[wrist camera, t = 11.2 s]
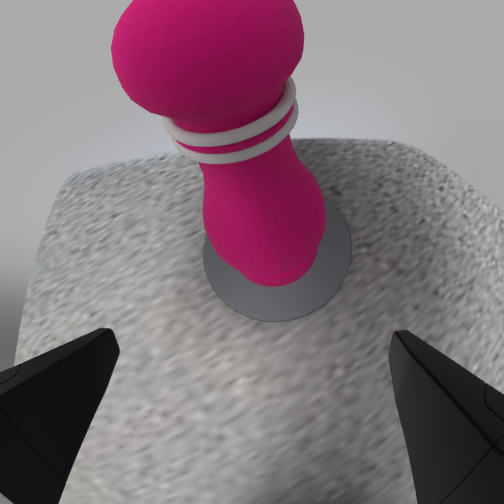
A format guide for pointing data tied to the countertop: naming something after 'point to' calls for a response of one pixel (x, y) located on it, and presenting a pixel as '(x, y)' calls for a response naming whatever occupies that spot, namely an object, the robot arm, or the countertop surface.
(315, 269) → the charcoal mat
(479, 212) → the countertop surface
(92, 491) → the countertop surface
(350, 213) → the countertop surface
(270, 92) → the pepper mill
